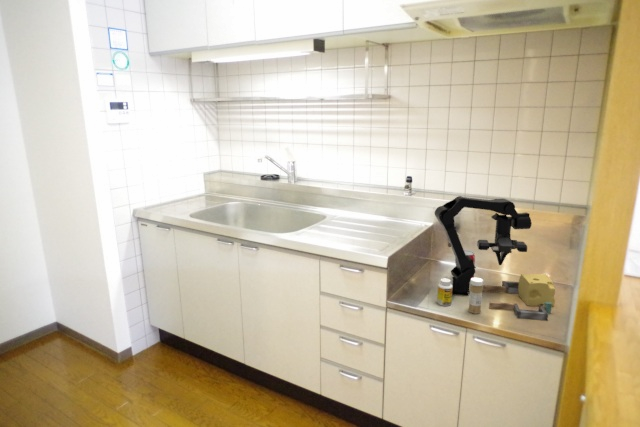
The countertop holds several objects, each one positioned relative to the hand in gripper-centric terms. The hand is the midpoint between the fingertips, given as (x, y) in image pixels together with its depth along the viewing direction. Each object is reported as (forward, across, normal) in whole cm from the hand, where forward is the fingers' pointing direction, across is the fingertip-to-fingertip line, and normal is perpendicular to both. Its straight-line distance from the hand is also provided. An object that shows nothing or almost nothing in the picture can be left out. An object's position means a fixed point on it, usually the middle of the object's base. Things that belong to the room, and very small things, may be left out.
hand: (499, 264), depth 178 cm
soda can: (+12, -12, +11) cm, 20 cm away
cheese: (+12, +13, -7) cm, 19 cm away
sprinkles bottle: (+12, -12, -21) cm, 27 cm away
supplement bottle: (+12, -23, -16) cm, 31 cm away
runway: (+12, +5, -9) cm, 16 cm away
